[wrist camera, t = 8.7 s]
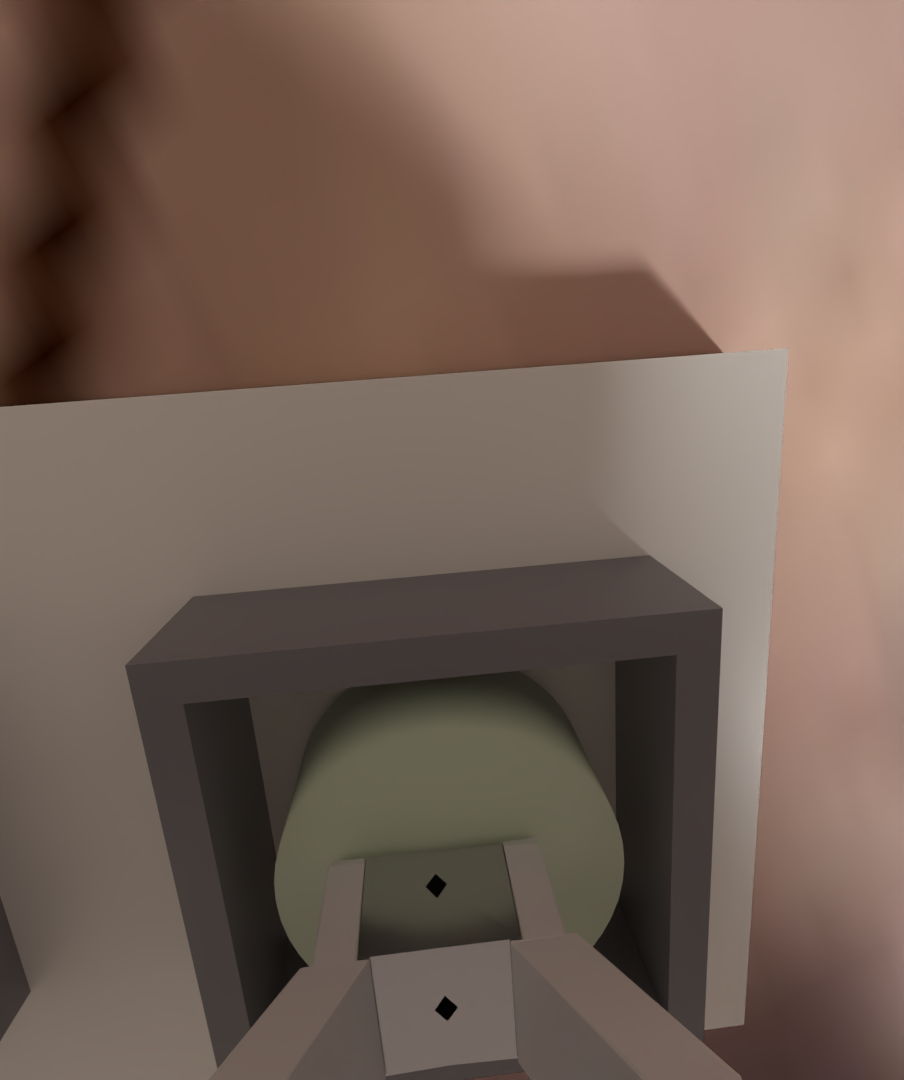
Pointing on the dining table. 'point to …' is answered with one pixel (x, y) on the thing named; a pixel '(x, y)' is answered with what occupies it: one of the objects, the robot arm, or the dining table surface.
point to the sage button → (448, 792)
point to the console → (363, 665)
